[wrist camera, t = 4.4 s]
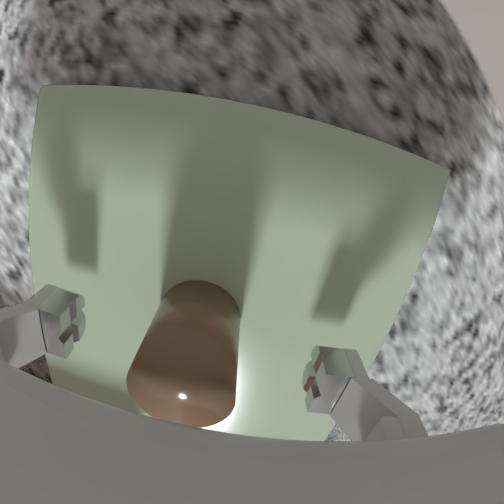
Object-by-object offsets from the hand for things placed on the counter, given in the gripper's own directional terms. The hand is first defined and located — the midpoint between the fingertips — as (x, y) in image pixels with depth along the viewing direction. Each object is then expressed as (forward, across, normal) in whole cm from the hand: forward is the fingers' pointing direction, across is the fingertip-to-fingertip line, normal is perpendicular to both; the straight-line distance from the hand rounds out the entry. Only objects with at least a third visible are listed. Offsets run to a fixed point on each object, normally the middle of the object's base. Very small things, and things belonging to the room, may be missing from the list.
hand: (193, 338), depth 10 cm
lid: (+2, 0, 0) cm, 2 cm away
